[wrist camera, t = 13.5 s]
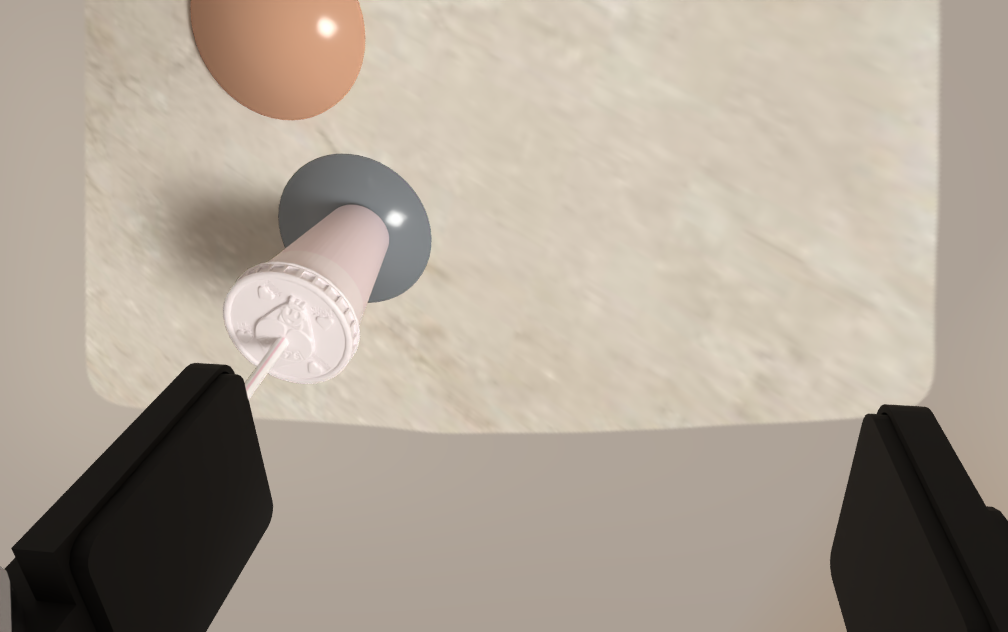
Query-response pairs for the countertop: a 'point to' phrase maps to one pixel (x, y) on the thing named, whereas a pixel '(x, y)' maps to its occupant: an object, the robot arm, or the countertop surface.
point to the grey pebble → (372, 188)
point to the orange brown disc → (281, 52)
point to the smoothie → (308, 300)
